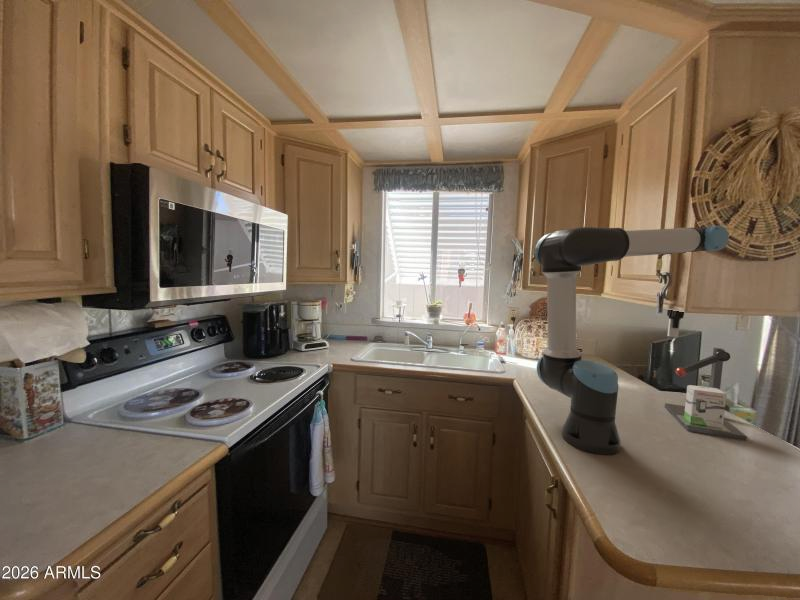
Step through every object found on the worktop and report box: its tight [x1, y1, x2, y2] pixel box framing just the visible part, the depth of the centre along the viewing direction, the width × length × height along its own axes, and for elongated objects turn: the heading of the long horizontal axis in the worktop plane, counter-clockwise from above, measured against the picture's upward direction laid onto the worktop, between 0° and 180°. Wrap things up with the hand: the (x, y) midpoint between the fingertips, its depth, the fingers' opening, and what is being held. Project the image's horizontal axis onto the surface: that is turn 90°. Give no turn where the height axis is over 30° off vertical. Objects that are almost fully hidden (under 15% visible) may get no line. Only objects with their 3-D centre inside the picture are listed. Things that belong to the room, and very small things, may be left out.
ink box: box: [684, 384, 728, 428], centre depth 106 cm, size 9×5×12 cm, turn 69°
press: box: [664, 347, 748, 442], centre depth 111 cm, size 21×14×25 cm
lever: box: [674, 350, 731, 377], centre depth 116 cm, size 3×17×4 cm
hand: (672, 336), depth 117 cm, fingers closed
